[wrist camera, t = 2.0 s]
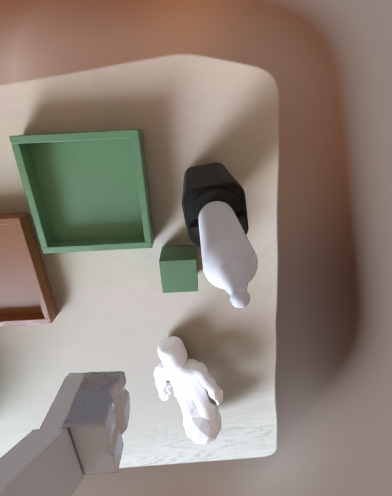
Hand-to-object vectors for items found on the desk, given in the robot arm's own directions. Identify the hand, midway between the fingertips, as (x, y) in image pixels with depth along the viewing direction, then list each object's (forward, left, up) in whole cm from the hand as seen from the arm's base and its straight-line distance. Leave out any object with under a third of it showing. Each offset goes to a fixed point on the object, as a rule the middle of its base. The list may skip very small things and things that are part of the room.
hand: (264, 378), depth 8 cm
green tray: (0, -14, -29) cm, 32 cm away
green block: (+10, -4, -29) cm, 31 cm away
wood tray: (+10, -30, -29) cm, 43 cm away
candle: (0, 0, -29) cm, 29 cm away
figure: (+32, -4, -29) cm, 43 cm away
